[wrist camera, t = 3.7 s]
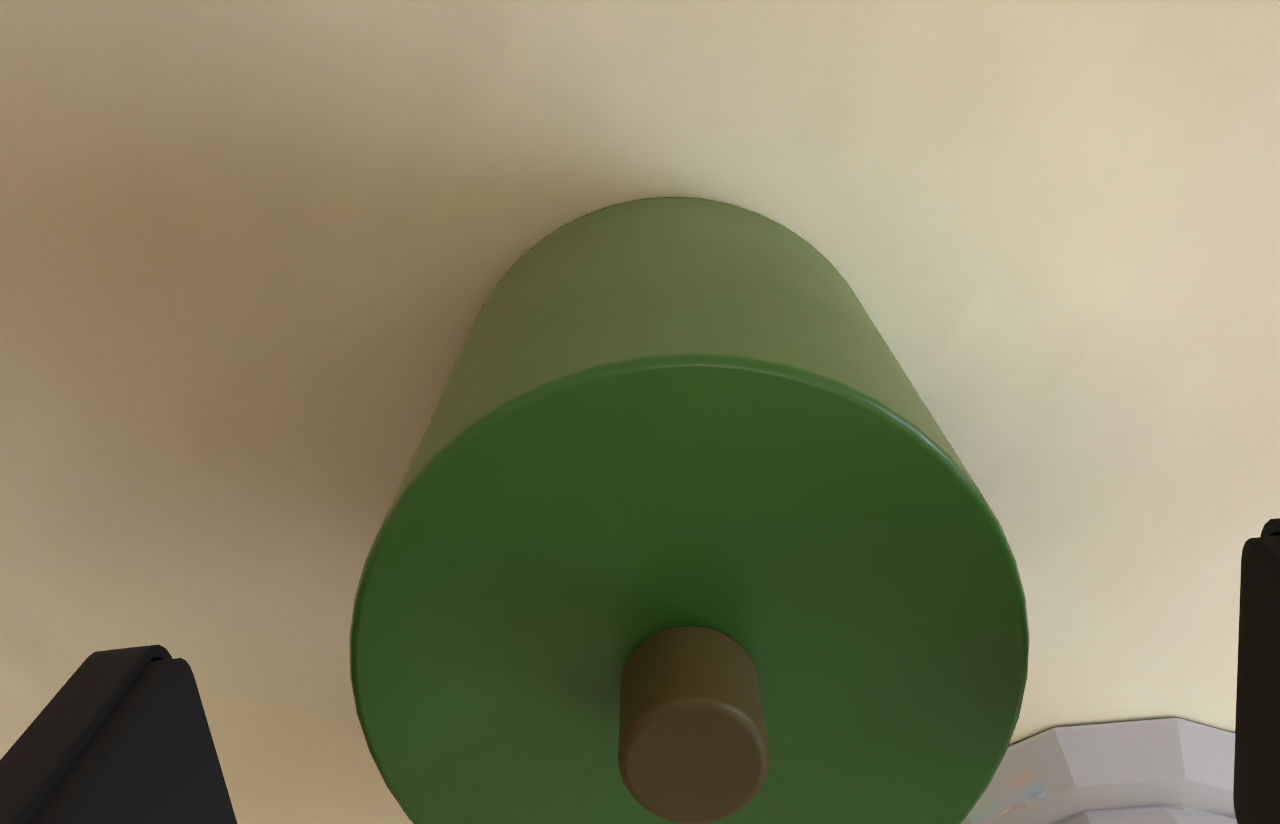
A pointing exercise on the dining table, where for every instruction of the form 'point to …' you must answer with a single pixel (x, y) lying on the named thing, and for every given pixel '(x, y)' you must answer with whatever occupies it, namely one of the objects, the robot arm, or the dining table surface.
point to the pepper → (685, 554)
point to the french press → (1114, 776)
